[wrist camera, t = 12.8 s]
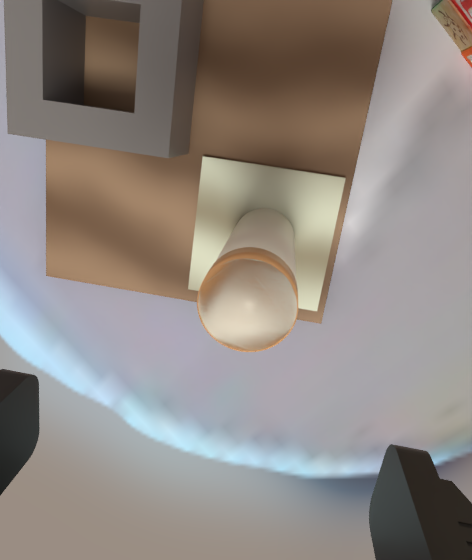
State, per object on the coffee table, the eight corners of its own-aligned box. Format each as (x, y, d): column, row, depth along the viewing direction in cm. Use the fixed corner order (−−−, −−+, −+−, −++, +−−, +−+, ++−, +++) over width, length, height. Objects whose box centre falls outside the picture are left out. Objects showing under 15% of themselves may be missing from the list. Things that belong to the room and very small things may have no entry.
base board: (58, -40, 27) (42, -51, 26) (387, 2, 26) (395, -7, 24) (56, 269, 34) (43, 277, 32) (319, 315, 33) (321, 325, 31)
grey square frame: (54, -28, 26) (2, -62, 22) (204, -8, 26) (185, -40, 21) (53, 133, 29) (7, 133, 24) (188, 153, 29) (168, 158, 24)
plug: (236, 202, 29) (202, 249, 18) (300, 212, 29) (306, 265, 17) (229, 263, 30) (192, 342, 19) (289, 272, 30) (288, 359, 19)
